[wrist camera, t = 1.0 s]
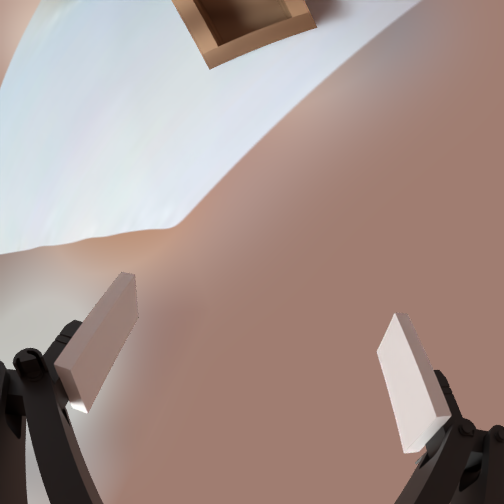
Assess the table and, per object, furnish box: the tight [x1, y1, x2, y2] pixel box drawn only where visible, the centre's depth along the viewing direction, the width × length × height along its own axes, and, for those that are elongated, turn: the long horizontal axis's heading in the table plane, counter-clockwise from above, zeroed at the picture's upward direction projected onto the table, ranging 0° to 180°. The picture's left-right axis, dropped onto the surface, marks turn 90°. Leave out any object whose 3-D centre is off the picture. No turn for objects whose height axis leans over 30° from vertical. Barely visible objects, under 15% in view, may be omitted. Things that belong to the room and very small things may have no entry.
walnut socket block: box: [172, 0, 317, 69], centre depth 25 cm, size 11×11×7 cm
